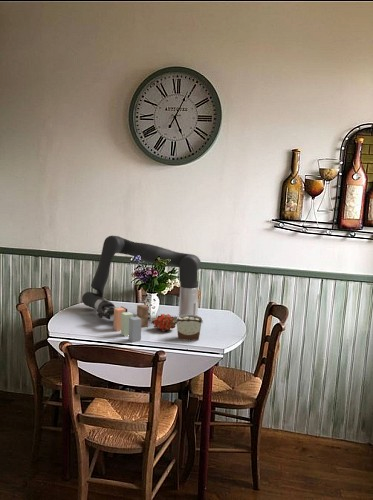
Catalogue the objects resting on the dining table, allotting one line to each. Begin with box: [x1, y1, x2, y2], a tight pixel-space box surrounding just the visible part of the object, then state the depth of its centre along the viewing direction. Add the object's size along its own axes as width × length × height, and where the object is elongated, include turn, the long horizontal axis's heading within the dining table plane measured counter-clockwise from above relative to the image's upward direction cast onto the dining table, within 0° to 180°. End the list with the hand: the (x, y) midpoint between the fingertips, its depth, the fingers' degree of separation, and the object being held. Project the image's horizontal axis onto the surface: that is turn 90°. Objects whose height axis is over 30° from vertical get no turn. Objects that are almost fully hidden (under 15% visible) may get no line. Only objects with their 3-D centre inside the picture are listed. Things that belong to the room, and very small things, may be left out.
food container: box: [175, 315, 204, 341], centre depth 210 cm, size 12×6×10 cm, turn 92°
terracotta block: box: [113, 306, 127, 332], centre depth 216 cm, size 4×4×10 cm
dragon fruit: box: [151, 313, 177, 332], centre depth 219 cm, size 8×8×12 cm
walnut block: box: [136, 304, 149, 329], centre depth 223 cm, size 4×4×10 cm
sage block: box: [120, 311, 134, 337], centre depth 210 cm, size 4×4×10 cm
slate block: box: [128, 316, 142, 343], centre depth 203 cm, size 4×4×10 cm
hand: (118, 316), depth 218 cm, fingers open, 8 cm apart
